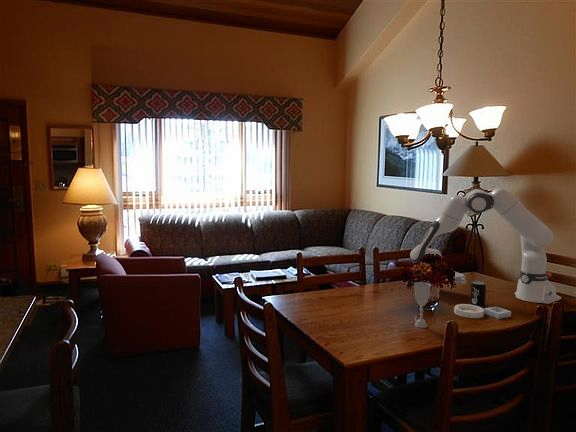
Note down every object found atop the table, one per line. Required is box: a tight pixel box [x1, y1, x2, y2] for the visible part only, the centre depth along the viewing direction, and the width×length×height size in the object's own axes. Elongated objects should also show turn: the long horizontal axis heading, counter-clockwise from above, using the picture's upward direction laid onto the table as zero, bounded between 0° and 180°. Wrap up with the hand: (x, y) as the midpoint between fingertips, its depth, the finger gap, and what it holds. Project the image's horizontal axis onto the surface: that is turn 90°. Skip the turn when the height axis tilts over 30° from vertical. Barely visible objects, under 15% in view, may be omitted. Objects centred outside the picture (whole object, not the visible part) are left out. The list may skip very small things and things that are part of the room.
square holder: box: [483, 305, 512, 320], centre depth 202 cm, size 8×8×2 cm
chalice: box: [413, 281, 432, 328], centre depth 188 cm, size 7×7×18 cm
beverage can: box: [469, 280, 487, 309], centre depth 214 cm, size 7×7×12 cm
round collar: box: [453, 303, 485, 319], centre depth 204 cm, size 12×12×2 cm
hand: (458, 282), depth 225 cm, fingers open, 8 cm apart
